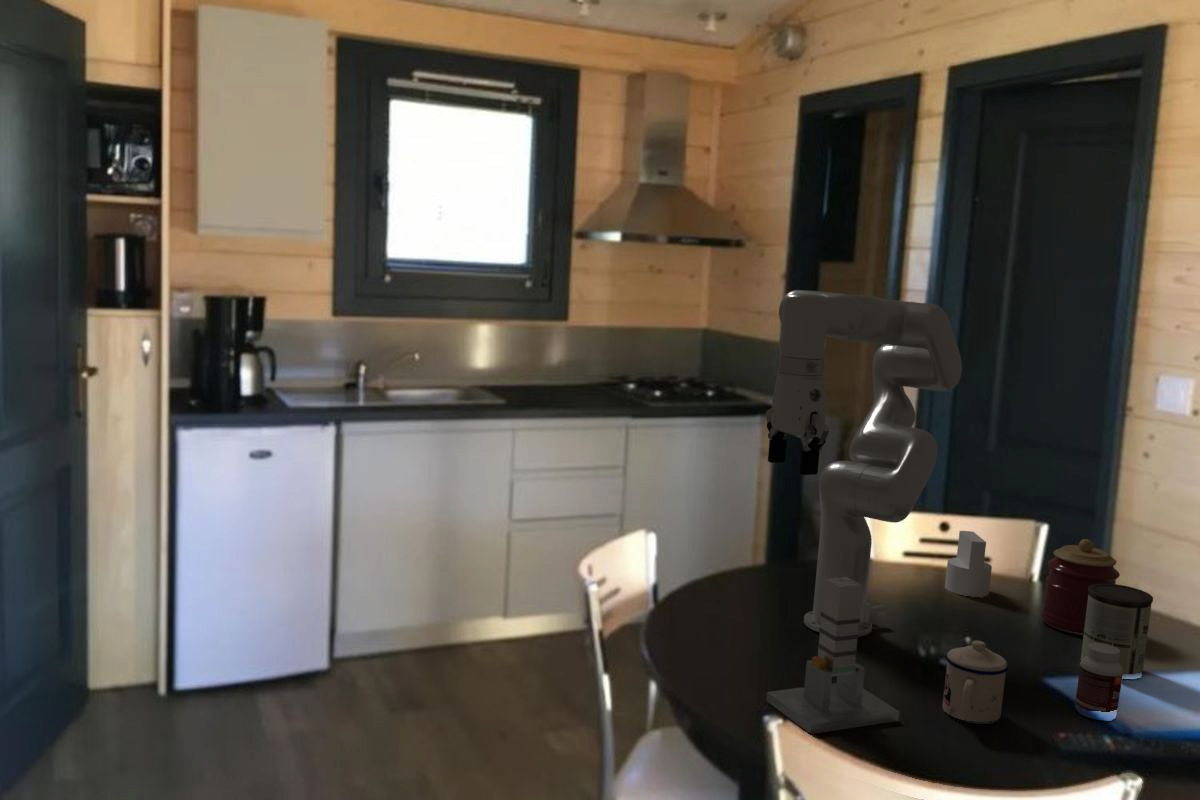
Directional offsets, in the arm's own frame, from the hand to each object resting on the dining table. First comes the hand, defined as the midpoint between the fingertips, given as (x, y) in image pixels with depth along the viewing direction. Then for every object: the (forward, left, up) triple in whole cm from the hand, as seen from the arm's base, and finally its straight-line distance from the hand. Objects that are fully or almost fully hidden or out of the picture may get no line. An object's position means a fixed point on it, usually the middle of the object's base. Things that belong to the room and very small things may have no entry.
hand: (792, 468), depth 186 cm
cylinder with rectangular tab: (-62, -22, -34) cm, 74 cm away
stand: (+4, +22, -33) cm, 40 cm away
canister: (-68, +2, -34) cm, 76 cm away
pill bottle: (-37, +35, -34) cm, 61 cm away
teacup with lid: (-16, +30, -34) cm, 48 cm away
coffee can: (-56, +21, -34) cm, 69 cm away
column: (+4, +22, -27) cm, 35 cm away
